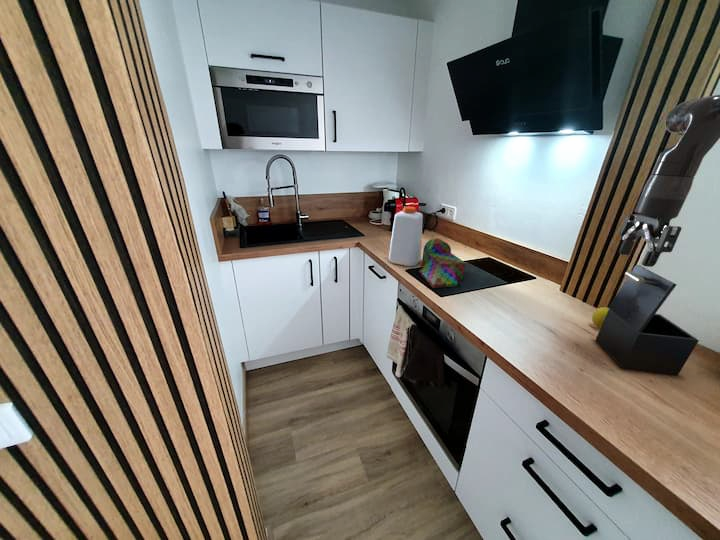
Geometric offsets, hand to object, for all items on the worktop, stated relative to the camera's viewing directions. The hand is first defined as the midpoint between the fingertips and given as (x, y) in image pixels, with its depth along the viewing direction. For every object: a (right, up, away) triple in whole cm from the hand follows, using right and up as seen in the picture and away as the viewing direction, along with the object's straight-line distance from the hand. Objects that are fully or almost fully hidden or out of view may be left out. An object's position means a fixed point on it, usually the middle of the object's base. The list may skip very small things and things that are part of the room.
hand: (634, 259), depth 73 cm
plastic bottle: (-47, +2, +77) cm, 90 cm away
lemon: (+11, -23, +24) cm, 35 cm away
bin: (+9, -28, +10) cm, 32 cm away
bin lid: (+5, -10, +3) cm, 12 cm away
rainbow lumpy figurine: (-34, -5, +61) cm, 70 cm away
